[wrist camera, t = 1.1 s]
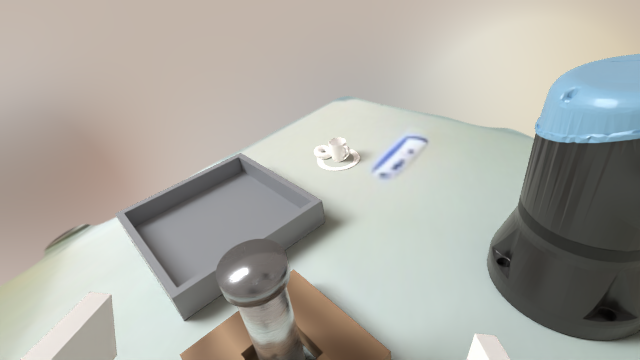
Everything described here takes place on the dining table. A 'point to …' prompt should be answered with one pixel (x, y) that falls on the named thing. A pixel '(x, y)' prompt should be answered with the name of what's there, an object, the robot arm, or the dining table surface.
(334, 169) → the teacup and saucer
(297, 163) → the dining table surface
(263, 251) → the lock pin
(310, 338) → the socket block
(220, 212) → the tray
